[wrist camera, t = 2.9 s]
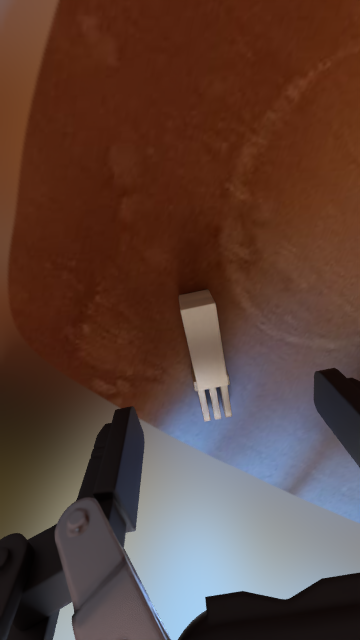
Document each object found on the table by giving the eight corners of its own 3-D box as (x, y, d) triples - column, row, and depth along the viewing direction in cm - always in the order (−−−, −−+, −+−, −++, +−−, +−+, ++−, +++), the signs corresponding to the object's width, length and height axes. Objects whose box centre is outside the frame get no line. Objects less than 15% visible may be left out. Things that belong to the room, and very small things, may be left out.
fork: (174, 296, 19) (175, 311, 16) (212, 288, 19) (219, 301, 16) (200, 409, 24) (204, 436, 21) (230, 403, 24) (239, 430, 21)
